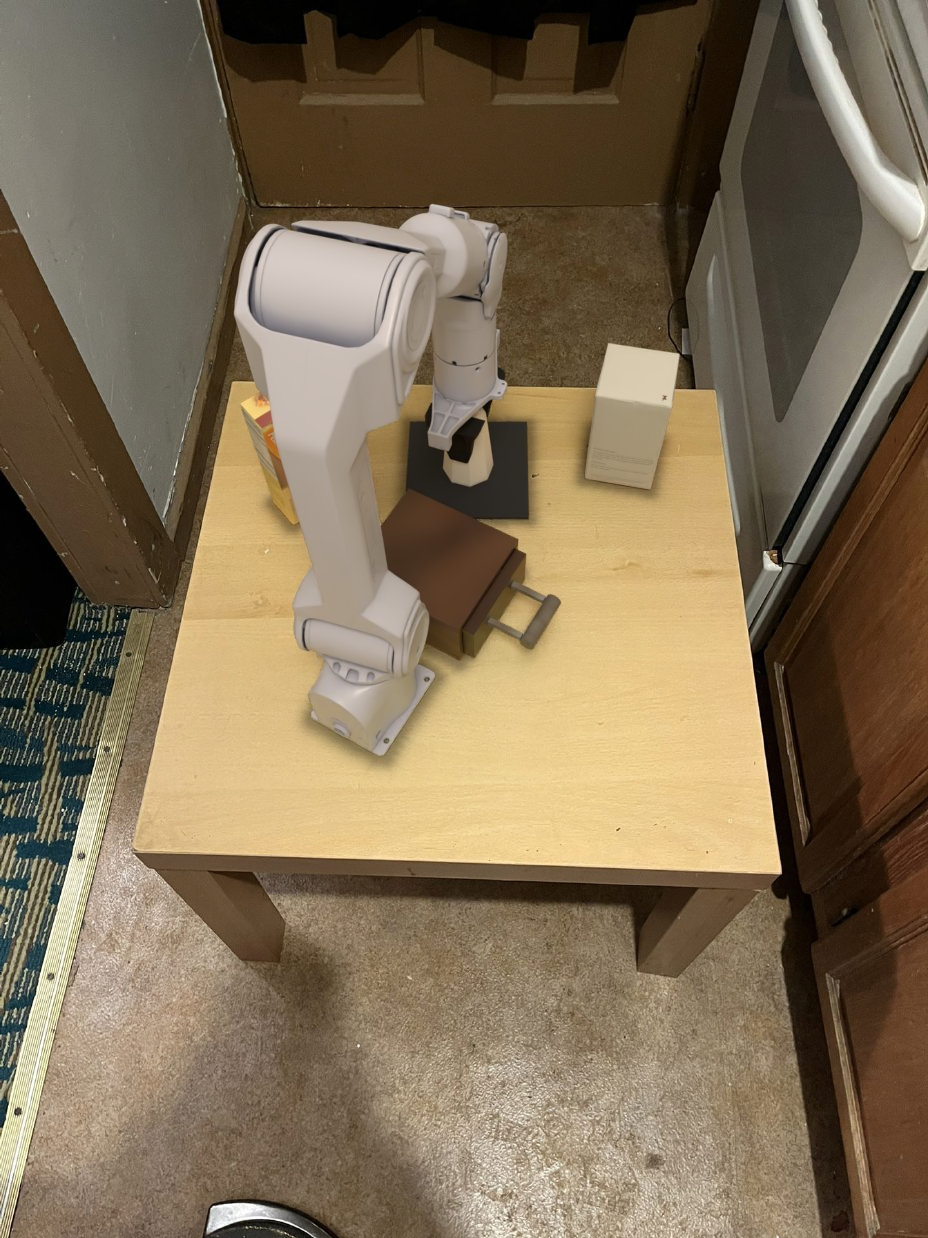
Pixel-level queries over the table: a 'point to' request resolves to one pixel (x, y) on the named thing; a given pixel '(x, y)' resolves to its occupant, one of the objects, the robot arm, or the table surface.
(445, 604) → the cabinet
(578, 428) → the table surface
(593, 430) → the white packaging box
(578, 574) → the table surface
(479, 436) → the pepper shaker
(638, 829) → the table surface
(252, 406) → the candy box
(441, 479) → the mat
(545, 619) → the drawer
